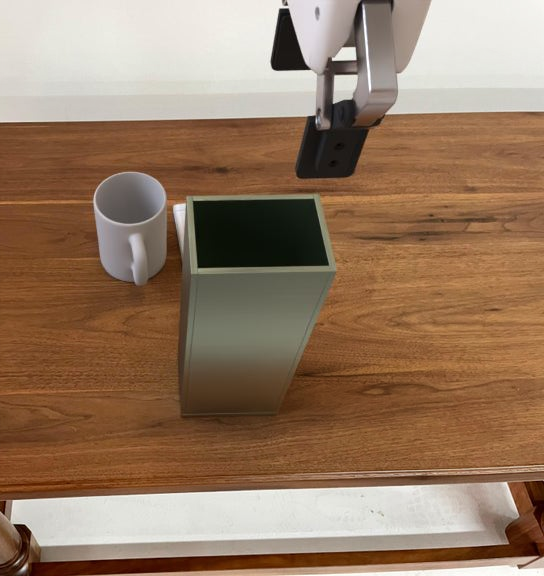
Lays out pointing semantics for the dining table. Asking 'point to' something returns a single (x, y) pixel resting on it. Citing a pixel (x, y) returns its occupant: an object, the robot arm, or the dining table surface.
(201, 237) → the box
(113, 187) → the mug
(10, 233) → the dining table surface
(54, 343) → the dining table surface
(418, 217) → the dining table surface
